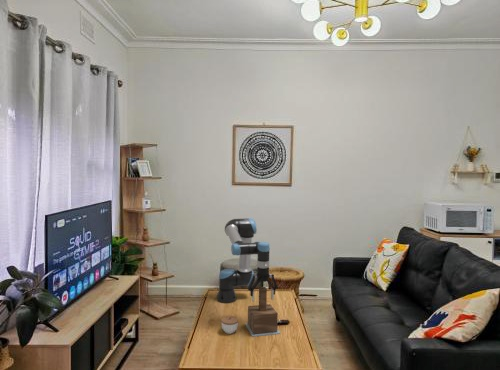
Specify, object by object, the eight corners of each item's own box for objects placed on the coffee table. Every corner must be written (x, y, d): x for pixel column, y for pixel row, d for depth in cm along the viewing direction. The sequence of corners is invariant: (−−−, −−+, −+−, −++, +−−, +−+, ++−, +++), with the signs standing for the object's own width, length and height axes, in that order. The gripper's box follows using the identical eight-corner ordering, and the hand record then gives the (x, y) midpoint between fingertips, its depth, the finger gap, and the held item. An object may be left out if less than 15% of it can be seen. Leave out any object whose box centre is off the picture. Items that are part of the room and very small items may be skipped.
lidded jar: (229, 326, 232) (229, 312, 232) (241, 331, 225) (241, 316, 225) (217, 331, 224) (217, 317, 224) (230, 337, 217) (230, 322, 217)
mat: (245, 324, 235) (245, 323, 235) (271, 321, 240) (271, 320, 240) (252, 336, 218) (252, 335, 218) (280, 333, 222) (280, 332, 222)
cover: (247, 324, 234) (248, 285, 233) (269, 321, 238) (270, 283, 237) (253, 334, 220) (254, 292, 218) (277, 332, 223) (278, 291, 222)
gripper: (245, 269, 220) (245, 303, 221) (283, 267, 226) (282, 300, 227) (243, 266, 228) (242, 299, 229) (279, 264, 234) (278, 296, 235)
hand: (262, 300), depth 228 cm, fingers open, 12 cm apart
